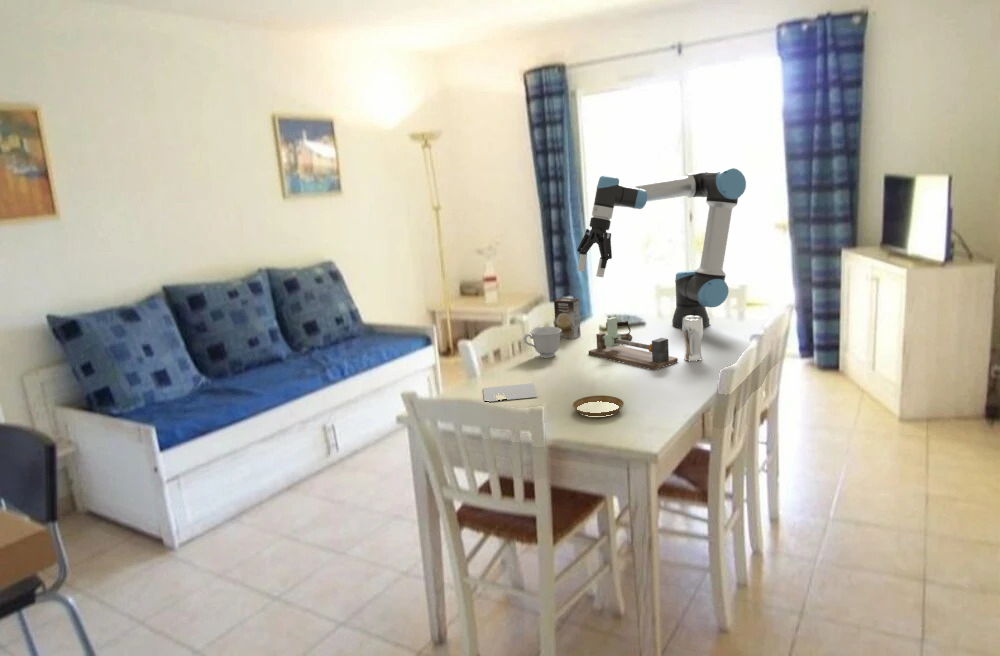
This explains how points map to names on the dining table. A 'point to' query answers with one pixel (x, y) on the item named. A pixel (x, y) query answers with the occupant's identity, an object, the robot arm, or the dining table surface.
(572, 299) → the coffee box
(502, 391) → the paper stack
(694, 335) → the beer glass
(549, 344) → the teacup
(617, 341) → the rack
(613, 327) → the sleeve
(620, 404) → the plant saucer
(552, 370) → the dining table surface
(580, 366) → the dining table surface
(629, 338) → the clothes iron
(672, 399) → the dining table surface
